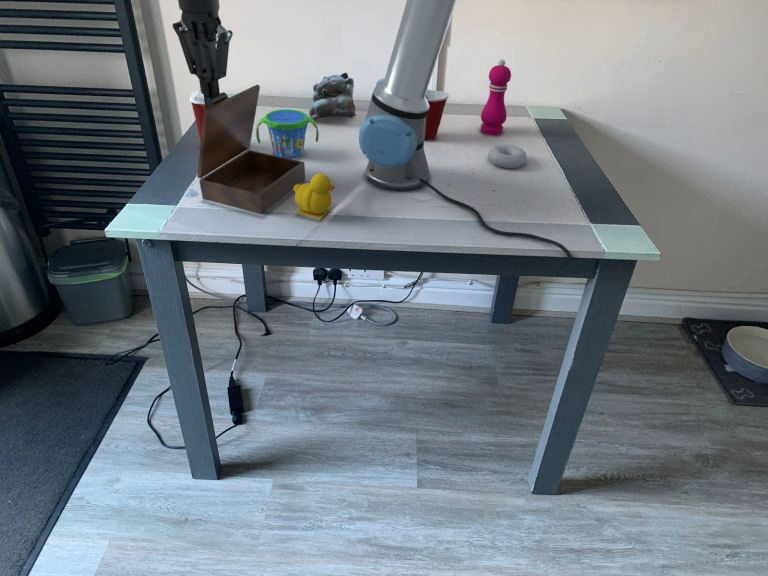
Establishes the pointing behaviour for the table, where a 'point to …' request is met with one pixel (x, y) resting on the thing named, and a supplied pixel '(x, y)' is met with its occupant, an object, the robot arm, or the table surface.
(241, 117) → the lid
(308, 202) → the duck
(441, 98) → the plastic cup
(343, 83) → the lucky cat figurine
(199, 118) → the paper cup
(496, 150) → the donut
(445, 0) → the robot arm
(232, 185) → the chest
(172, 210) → the table surface
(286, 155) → the snack cup
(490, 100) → the pepper mill
